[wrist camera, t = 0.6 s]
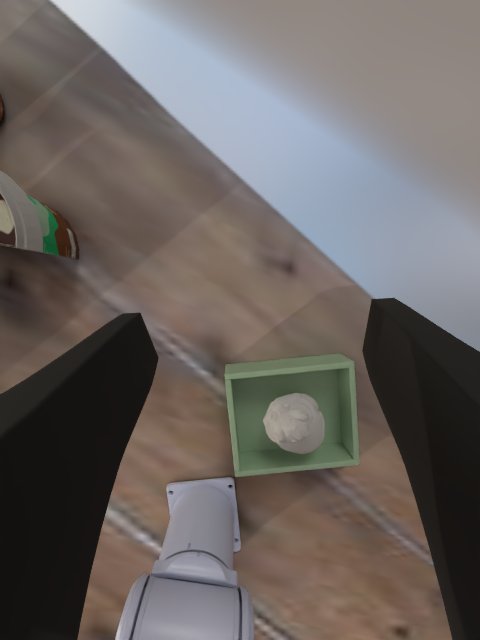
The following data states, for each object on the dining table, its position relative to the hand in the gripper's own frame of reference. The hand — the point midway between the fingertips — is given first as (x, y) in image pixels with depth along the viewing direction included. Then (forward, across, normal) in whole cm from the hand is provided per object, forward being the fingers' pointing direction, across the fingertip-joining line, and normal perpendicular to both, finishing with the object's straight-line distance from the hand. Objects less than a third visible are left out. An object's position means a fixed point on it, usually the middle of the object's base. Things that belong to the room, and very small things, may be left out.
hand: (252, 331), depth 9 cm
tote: (+14, -1, +22) cm, 26 cm away
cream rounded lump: (+14, -1, +22) cm, 26 cm away
